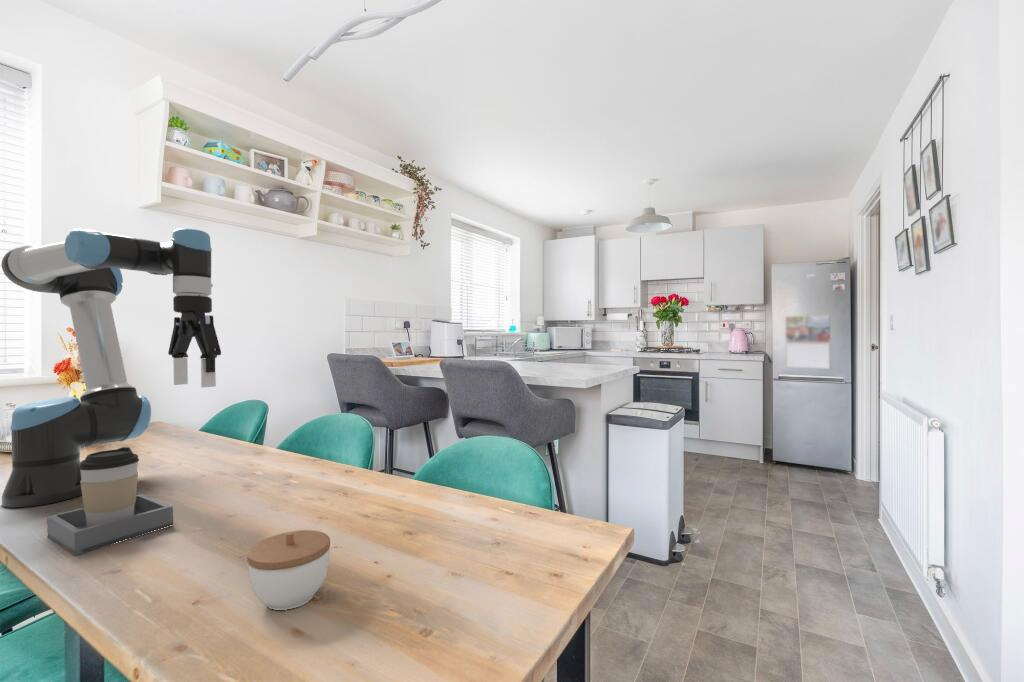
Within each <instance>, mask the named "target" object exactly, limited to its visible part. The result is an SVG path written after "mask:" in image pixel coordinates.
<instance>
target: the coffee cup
mask: <svg viewBox="0 0 1024 682" xmlns="http://www.w3.org/2000/svg"><path fill="white" fill-rule="evenodd" d="M139 461H140V459H139V455H138V454H137V453H134V452H133V451H132V449H131V448H130V447H128V446H122V447H120V448H117V449H109V450H101V451H96V452H92V453H90V454H87V456H86V457H85V459H83V460H80V462H81V463H80V467H79V469H80V471H81V481H80V482H81V490H82V495H81V496H82V503H83V508H84V511H85V514H86V522H87V527H91V526H95V525H99V524H102V523H106V522H110V521H114V520H117V519H121V518H125V517H129V516H132V515H134V504H135V501H136V495H137V490H138V489H137V488H138V476H139V472H138V465H139Z"/></svg>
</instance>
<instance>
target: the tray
mask: <svg viewBox="0 0 1024 682" xmlns="http://www.w3.org/2000/svg"><path fill="white" fill-rule="evenodd" d="M46 522H47V524H46V525H47V526H46V528H47V538H48V539H49V540H51V541H53V542H54V543H56V544H57V545H59V546H60V547H62V548H63V549H64V550H66V551H68V552H69V553H70V554H72V555H73V556H78V555H82V554H85V553H88V552H91V551H95V550H99V549H102V548H104V547H108V546H111V544H112V545H114V543H115V544H117V543H116V542H118V543H120V542H119V541H122V542H124V541H123V540H125V539H128V540H130V539H129V538H132V539H134V538H133V537H135V538H137V537H136V536H138V537H140V536H139V535H142V534H145V533H148V532H151V531H154V530H158V529H161V528H164V527H167V526H170V525H173V526H174V506H173V505H171V504H168V503H166V502H163V501H160V500H158V499H156V498H153V497H150V496H148V495H146V494H143V493H139V494H136V501H135V504H134V515H132V516H129V517H125V518H121V519H117V520H114V521H110V522H106V523H102V524H99V525H95V526H91V527H87V522H86V514H85V511H84V507H82V508H76V509H72V510H68V511H67V510H66V511H64V512H59V513H56V514H51V515H47V518H46ZM158 531H159V530H158ZM148 534H149V533H148ZM145 535H146V534H145ZM142 536H143V535H142ZM125 541H126V540H125Z"/></svg>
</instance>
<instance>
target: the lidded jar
mask: <svg viewBox="0 0 1024 682" xmlns="http://www.w3.org/2000/svg"><path fill="white" fill-rule="evenodd" d="M330 548H331V539H330V536H329V534H327V533H325V532H323V531H320V530H313V529H310V530H308V529H307V530H305V529H304V530H301V529H300V530H291V531H287V532H283V533H282V532H281V533H279V534H278V533H277V534H275V535H272V536H268V537H266V538H264V539H261V540H260V541H258V542H257V543H254V544H253V546H251V547H250V549H248V551H247V556H246V561H247V564H248V566H247V568H248V580H249V584H250V586H251V590H252V592H253V594H254V596H255V597H256V598H257V600H259V601H260V602H261V603H262V604H264V605H266V607H267V606H268V607H269V608H271V609H274V610H273V611H275V610H285V611H287V610H286V609H291V610H293V609H292V608H295V609H297V608H296V607H298V608H299V607H302V606H304V605H306V604H308V603H309V602H310V601H311V600H312V599H313V598H314V596H315V594H317V592H318V591H319V589H320V588H321V587H322V585H323V584H324V581H325V579H326V577H327V574H328V570H329V563H330ZM268 607H267V608H268ZM269 608H268V609H269ZM271 609H270V610H271Z"/></svg>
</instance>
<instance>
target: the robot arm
mask: <svg viewBox="0 0 1024 682" xmlns="http://www.w3.org/2000/svg"><path fill="white" fill-rule="evenodd" d="M211 245H212V244H211V236H210V234H209V233H208V232H206V231H204V230H200V229H195V228H194V229H193V228H176V229H174V230H173V231H172V235H171V241H167V242H166V241H165V242H162V241H158V240H157V241H155V240H151V239H150V240H149V239H144V238H138V237H133V236H127V235H126V236H125V235H121V234H115V233H109V232H102V231H99V230H95V229H82V228H74V229H72V230H70V232H69V233H68V234H67V235H66V237H65V240H63V241H58V242H54V243H49V244H45V245H41V246H39V245H31V244H30V245H22V246H19V247H15V248H13V249H11V250H10V249H9V251H8V252H7V253H5V254H4V256H3V258H2V260H1V265H0V266H1V270H2V271H3V274H4V276H5V277H7V278H8V280H10V282H12V283H13V284H14V285H17V286H18V287H21V288H23V289H26V290H29V291H33V292H36V293H47V294H48V293H49V294H58V295H59V299H60V302H61V304H62V305H64V306H65V307H68V308H69V311H70V315H71V320H72V325H73V330H74V336H75V340H76V345H77V350H78V355H79V360H80V365H81V370H82V375H83V380H84V385H85V389H86V390H85V391H84V393H82V395H80V396H79V398H78V397H76V396H65V397H58V398H50V399H45V400H38V401H35V402H30V403H26V404H23V405H20V406H18V407H16V408H15V409H14V410H13V411H12V415H11V423H10V427H9V428H10V430H11V463H12V465H11V468H12V469H11V473H10V475H9V477H8V479H7V481H6V485H5V486H4V489H3V492H2V494H1V506H2V507H6V508H26V507H27V508H28V507H34V506H41V505H47V504H49V505H50V504H52V503H59V502H62V501H67V500H70V499H73V498H77V497H80V496H82V490H81V482H80V481H81V471H80V469H79V467H80V463H81V456H80V455H81V453H80V452H81V449H82V448H86V447H87V448H88V447H89V448H90V447H94V446H99V445H104V444H110V443H116V442H124V441H127V440H132V439H133V440H134V439H136V438H139V437H140V436H142V435H143V434H144V433H145V432H146V431H147V429H148V428H149V424H150V422H151V417H152V407H151V402H150V401H149V399H148V398H147V396H145V395H141V394H140V395H138V392H137V389H136V386H133V385H132V384H129V383H128V380H127V379H128V378H127V374H126V370H125V366H124V365H125V364H124V361H123V357H122V350H121V345H120V340H119V337H118V336H119V335H118V332H117V328H116V323H115V319H114V318H115V317H114V314H113V309H112V304H113V303H114V302H115V301H116V300H117V297H118V296H119V295H120V294H121V293H122V290H123V285H122V283H124V278H123V274H122V270H129V271H137V272H146V273H148V274H150V275H155V276H159V275H160V276H168V275H172V293H173V294H174V295H175V296H174V297H173V311H174V313H178V314H179V313H180V314H181V316H175V317H174V319H173V329H172V334H171V337H170V342H169V348H168V353H167V354H168V356H171V358H173V361H172V363H173V365H172V366H173V386H178V385H180V386H181V385H188V383H189V381H188V380H189V378H188V377H189V375H188V358H189V355H188V353H187V352H188V350H189V347H190V345H191V343H192V339H193V338H194V339H195V342H196V344H197V346H198V348H199V350H200V353H201V355H200V357H199V359H200V377H201V378H200V385H201V388H210V387H211V388H213V387H216V386H217V385H216V384H217V382H216V379H217V378H216V377H217V376H216V375H217V374H216V359H217V357H218V356H221V354H222V350H221V347H220V343H219V339H218V335H217V331H216V327H215V324H214V315H208V314H210V313H211V312H212V311H213V301H212V298H211V295H212V287H213V286H214V284H213V283H212V251H213V249H212V247H211ZM206 314H207V315H206Z"/></svg>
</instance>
